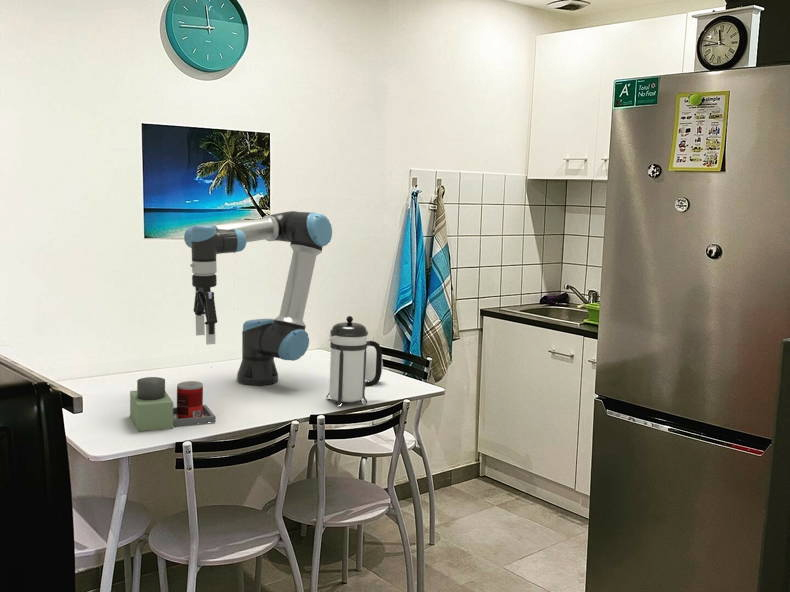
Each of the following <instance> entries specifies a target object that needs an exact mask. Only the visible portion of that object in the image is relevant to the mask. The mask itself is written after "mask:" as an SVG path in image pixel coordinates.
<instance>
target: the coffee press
mask: <svg viewBox="0 0 790 592" xmlns="http://www.w3.org/2000/svg"><path fill="white" fill-rule="evenodd" d="M353 321H354V318H353V316H351V315H349V316H347V317H346V321H345V322H338V323H336V324H334V325H333V326H332V328H331V329H330V331H329V332H330V333H329V335H328V337H327V342H329V341H330V345H329V346H330V362H329V363H330V364H329V366H330V367H329V392H328V394H327V395H326V396H325V398H326V397H328V398H331V399H332V400H334V401H337V402H336V406H337V405H340V404H341V403H343V404H344V403H354V402H360V403H361V402H362V401H363V400H364V403H365V404H366V403H367V404H368V400H367V398H366V396H365V395H366V394H365V390H366V388H369V387H373V386H375V385H377V384H378V383H379V382H380V379H381V376H382V374H381V368H382V362H383V352H382V351H383V350H382V347H381V345H380V344H379V343H378V342H376V341H375V340H374V341H373V340H367V339H368V337H367V336H368V335H369V332H368V329H367V327H366V326H365V325H363V324H362V323H358V322H353ZM369 346H374V347H375V349H376V374H375V377H374V379H373V380H372V381H369V382H367V381H366V379H365V371H366V350H367V348H368V347H369ZM362 399H363V400H362Z"/></svg>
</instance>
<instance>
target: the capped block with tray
mask: <svg viewBox="0 0 790 592" xmlns="http://www.w3.org/2000/svg"><path fill="white" fill-rule="evenodd" d="M136 381H137V384H136V390H130V391H129V393H130V394H129V402H130V403H129V405H130V406H129V411H130V412H129V413H130V414H129V415H130V419H131V418H132V419H131V421H132V423H133V425H134V426H135V429H136V432H138V431H141V432H146V431H145V430H151V431H156V430H155V429H162V430H165V429H164V428H172V429H174V427H173V426H176V427H183V426H182V425H187V426H191V425H190V424H197V425H201V424H200V423H208V422H217V421H216V415H215V414H214V413H213V412H212V410H211V409H210V408H209V406H207V404H203V413H204V415H205V414H206V415H207V416H206V415H205V416H202V417H193V418H182V419H177V418H175V417H174V415H173V414H176V415H177V406H176V407H174V402H173V400H172V399H171V397H170V396H169V394H168V393H167V391H166V379H165V378H163V377H158V376H149V377H141V378H138V379H137V380H136ZM198 423H199V424H198ZM208 424H209V423H208ZM153 429H154V430H153Z"/></svg>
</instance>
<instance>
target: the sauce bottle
mask: <svg viewBox="0 0 790 592" xmlns="http://www.w3.org/2000/svg"><path fill="white" fill-rule="evenodd" d="M372 341H374V342H375V336H372ZM383 367H384V362H383V361H382V368H381V375H382V374H383V373H382V372H383ZM375 374H376V349H375V347H374V346H367V349H366V371H365V381H366V382H367V381H372V380H373V379H374V377H375Z"/></svg>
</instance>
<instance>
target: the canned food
mask: <svg viewBox="0 0 790 592" xmlns="http://www.w3.org/2000/svg"><path fill="white" fill-rule="evenodd" d="M203 397H204V384H203V382H200V381H195V380H194V381H193V380H191V381H189V380H188V381H187V380H186V381H181V382H179V383H177V386H176V407H177V414H176V419H182V418H193V417H203V413H204V412H203V405H204V402H203V400H204V398H203Z"/></svg>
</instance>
